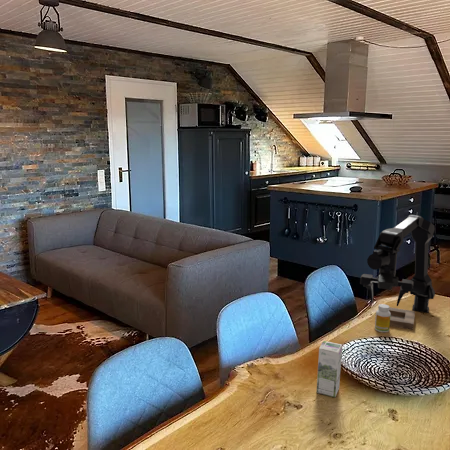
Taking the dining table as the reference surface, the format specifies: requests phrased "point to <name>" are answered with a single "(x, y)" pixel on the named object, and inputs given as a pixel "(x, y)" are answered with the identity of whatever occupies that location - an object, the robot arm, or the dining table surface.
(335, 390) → the syrup box
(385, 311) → the supplement bottle
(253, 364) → the dining table surface
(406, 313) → the holder block
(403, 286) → the robot arm
